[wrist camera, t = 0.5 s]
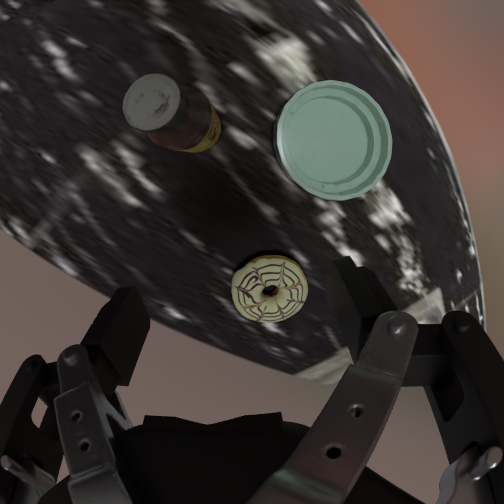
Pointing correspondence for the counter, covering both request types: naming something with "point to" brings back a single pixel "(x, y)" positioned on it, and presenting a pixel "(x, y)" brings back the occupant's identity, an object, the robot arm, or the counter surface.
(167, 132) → the sauce bottle
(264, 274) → the decorated donut
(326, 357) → the counter surface
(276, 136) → the bowl
